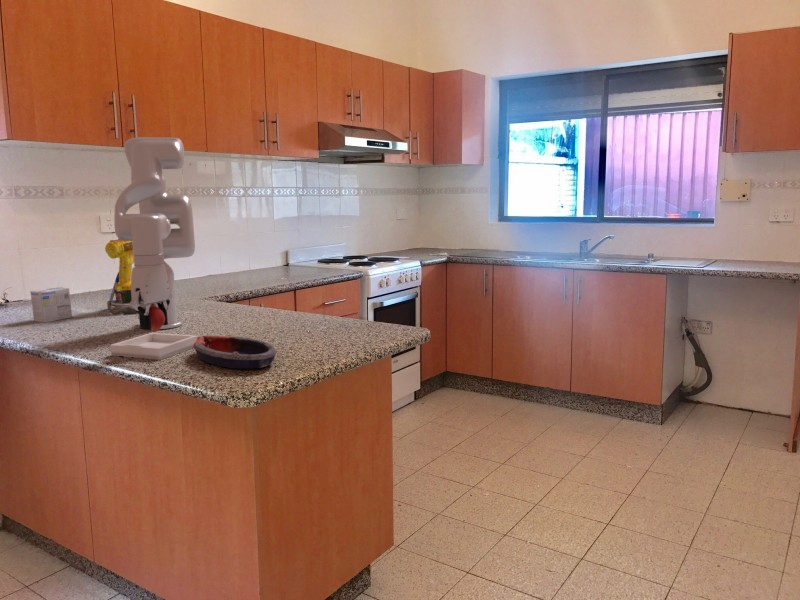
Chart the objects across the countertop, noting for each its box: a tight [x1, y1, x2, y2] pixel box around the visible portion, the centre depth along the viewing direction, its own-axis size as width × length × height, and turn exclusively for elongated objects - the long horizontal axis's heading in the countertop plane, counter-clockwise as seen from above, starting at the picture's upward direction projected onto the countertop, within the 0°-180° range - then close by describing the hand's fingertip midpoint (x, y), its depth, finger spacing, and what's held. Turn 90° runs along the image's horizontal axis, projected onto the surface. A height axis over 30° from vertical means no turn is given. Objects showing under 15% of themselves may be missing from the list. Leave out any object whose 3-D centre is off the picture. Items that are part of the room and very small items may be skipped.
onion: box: [148, 303, 165, 333], centre depth 178 cm, size 6×6×8 cm
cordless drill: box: [104, 238, 145, 315], centre depth 244 cm, size 18×19×28 cm
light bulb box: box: [30, 286, 73, 324], centre depth 229 cm, size 11×7×11 cm, turn 149°
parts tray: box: [109, 332, 199, 361], centre depth 179 cm, size 16×16×3 cm
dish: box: [193, 335, 277, 370], centre depth 167 cm, size 16×31×5 cm, turn 44°
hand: (154, 326), depth 178 cm, fingers closed on onion, 5 cm apart
